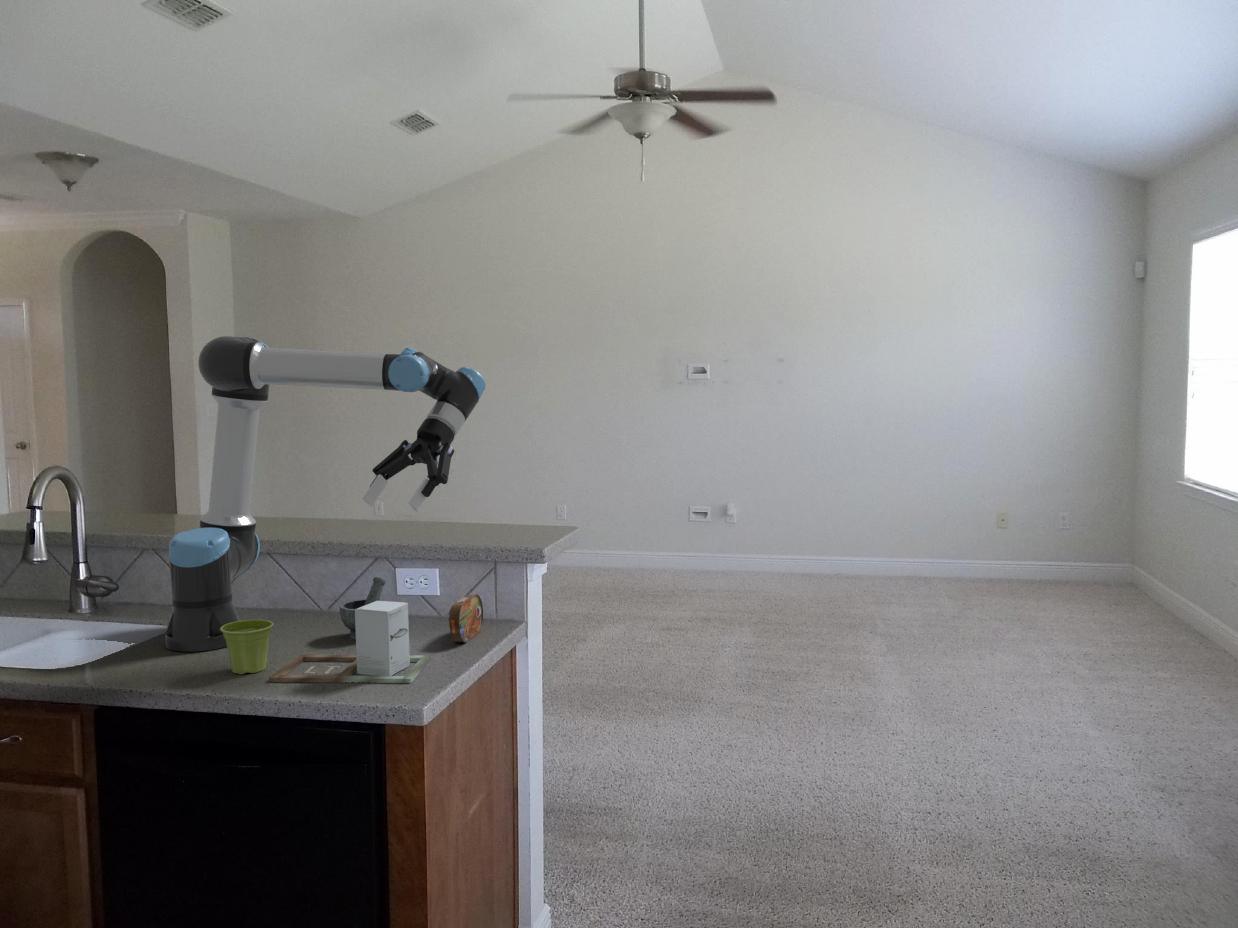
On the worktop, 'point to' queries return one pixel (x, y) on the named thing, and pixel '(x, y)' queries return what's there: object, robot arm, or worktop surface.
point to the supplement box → (382, 638)
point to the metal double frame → (346, 674)
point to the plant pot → (247, 644)
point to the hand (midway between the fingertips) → (389, 505)
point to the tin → (466, 618)
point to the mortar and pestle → (360, 605)
